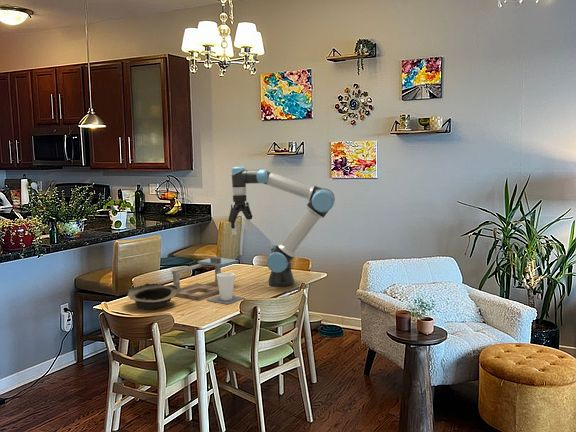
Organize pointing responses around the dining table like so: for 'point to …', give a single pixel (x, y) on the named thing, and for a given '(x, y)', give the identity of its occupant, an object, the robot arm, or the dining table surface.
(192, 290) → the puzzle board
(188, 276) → the dining table surface
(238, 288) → the dining table surface
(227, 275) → the foam cup
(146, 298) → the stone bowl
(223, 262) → the cover
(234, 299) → the rubber mat
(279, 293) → the dining table surface
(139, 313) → the dining table surface
